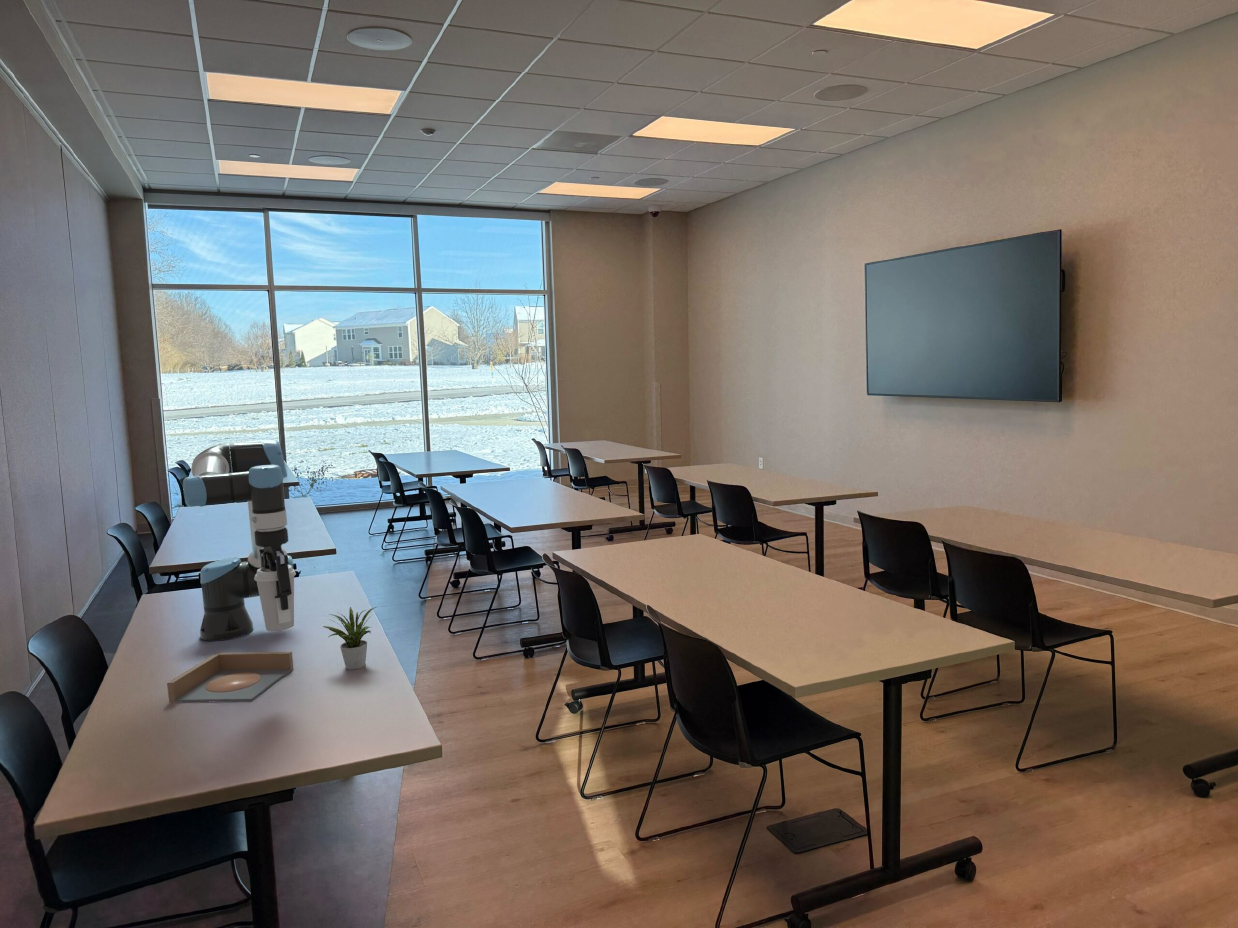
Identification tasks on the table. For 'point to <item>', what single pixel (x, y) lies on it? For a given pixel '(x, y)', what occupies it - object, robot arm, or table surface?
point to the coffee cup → (273, 598)
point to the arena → (230, 677)
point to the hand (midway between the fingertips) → (279, 618)
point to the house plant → (352, 640)
